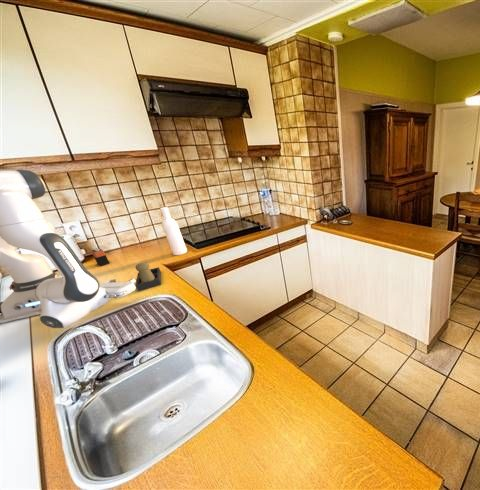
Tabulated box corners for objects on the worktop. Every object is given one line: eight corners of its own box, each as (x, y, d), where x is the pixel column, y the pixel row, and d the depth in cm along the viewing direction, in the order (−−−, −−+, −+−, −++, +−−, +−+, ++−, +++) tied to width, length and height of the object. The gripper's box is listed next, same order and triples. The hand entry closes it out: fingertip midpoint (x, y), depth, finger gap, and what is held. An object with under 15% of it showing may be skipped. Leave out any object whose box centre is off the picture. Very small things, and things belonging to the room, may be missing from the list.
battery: (100, 266, 158) (92, 251, 154) (97, 264, 162) (89, 249, 158) (110, 263, 161) (102, 248, 158) (106, 261, 165) (99, 246, 161)
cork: (148, 286, 131) (140, 266, 126) (139, 285, 132) (130, 266, 128) (159, 280, 136) (151, 261, 132) (150, 279, 137) (142, 260, 133)
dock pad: (138, 291, 128) (135, 285, 127) (140, 277, 142) (137, 272, 140) (161, 284, 133) (158, 279, 132) (160, 272, 147) (158, 267, 145)
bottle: (174, 252, 173) (157, 207, 161) (187, 249, 176) (172, 205, 164) (172, 256, 166) (154, 210, 154) (186, 253, 169) (170, 208, 158)
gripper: (114, 290, 107) (143, 273, 119) (67, 291, 108) (100, 274, 121) (121, 303, 109) (148, 285, 122) (75, 304, 110) (106, 286, 123)
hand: (124, 280), depth 121 cm, fingers open, 8 cm apart
